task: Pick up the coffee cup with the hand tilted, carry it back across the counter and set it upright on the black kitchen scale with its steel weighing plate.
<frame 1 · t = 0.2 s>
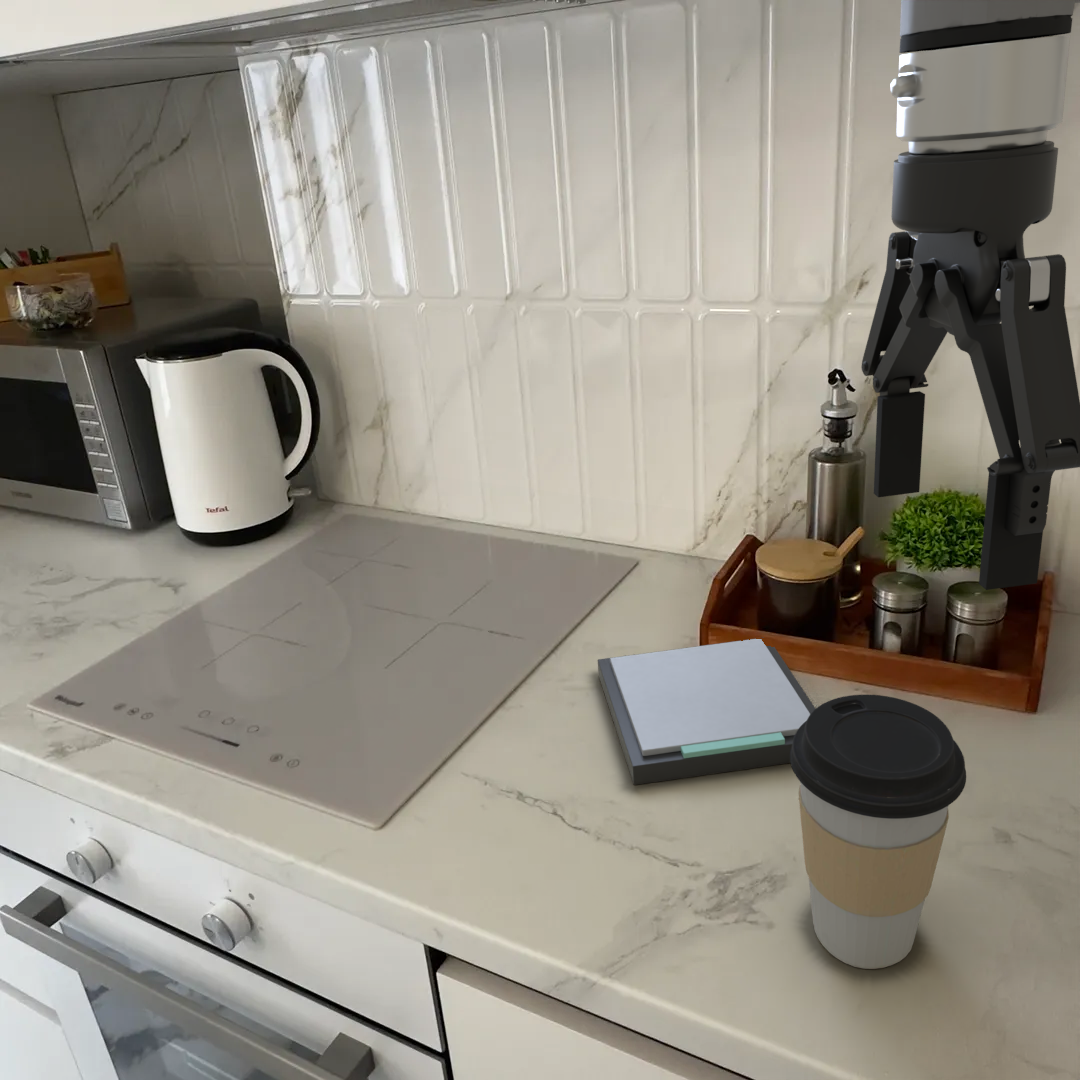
hand: (945, 534, 57), 24 cm above the worktop, tool pointing down, fingers open, 13 cm apart
coffee cup: (862, 935, 61), on the worktop
kitchen scale: (707, 713, 83), on the worktop
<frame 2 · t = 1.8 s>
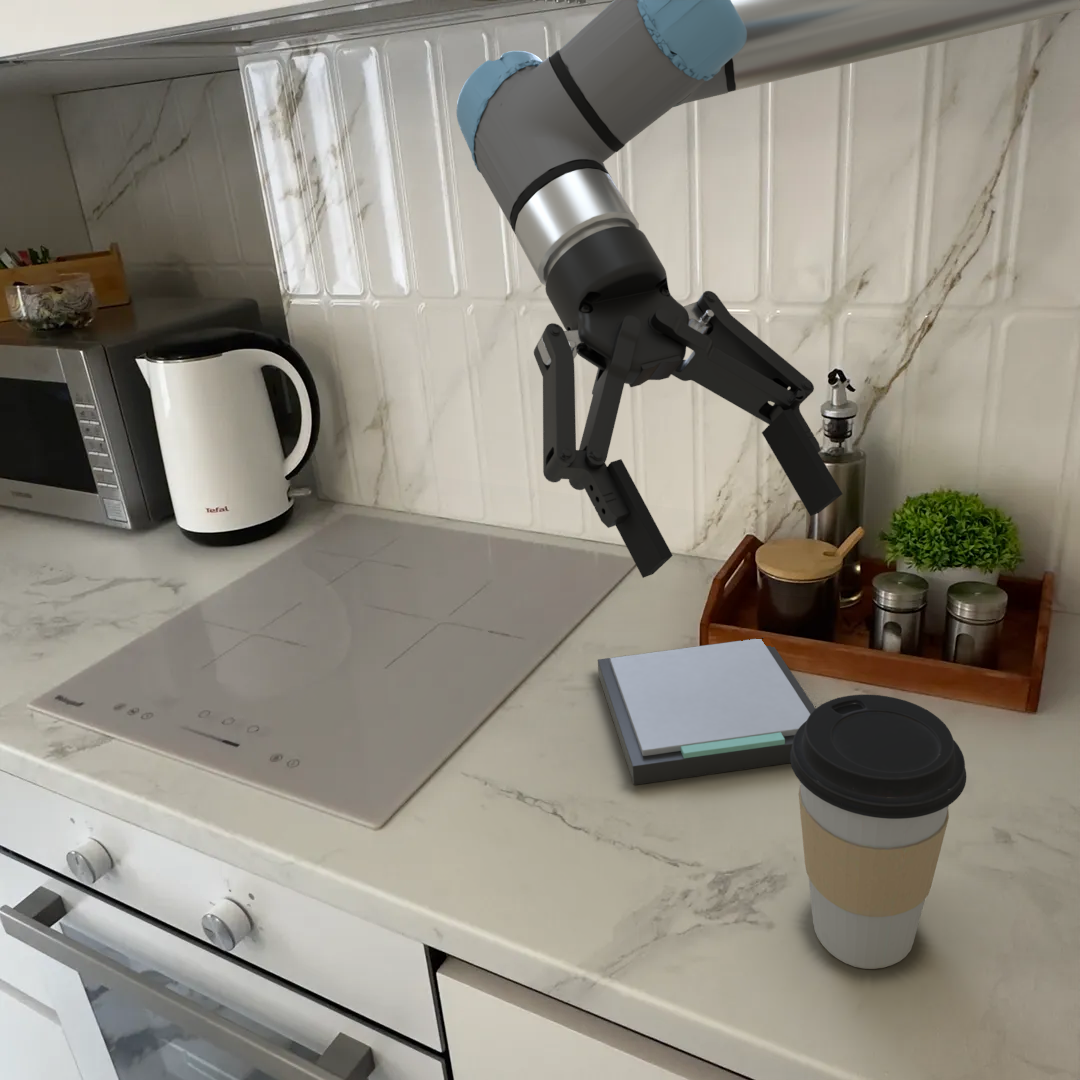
hand: (746, 535, 59), 24 cm above the worktop, tool tilted 45°, fingers open, 13 cm apart
nothing on the worktop moved.
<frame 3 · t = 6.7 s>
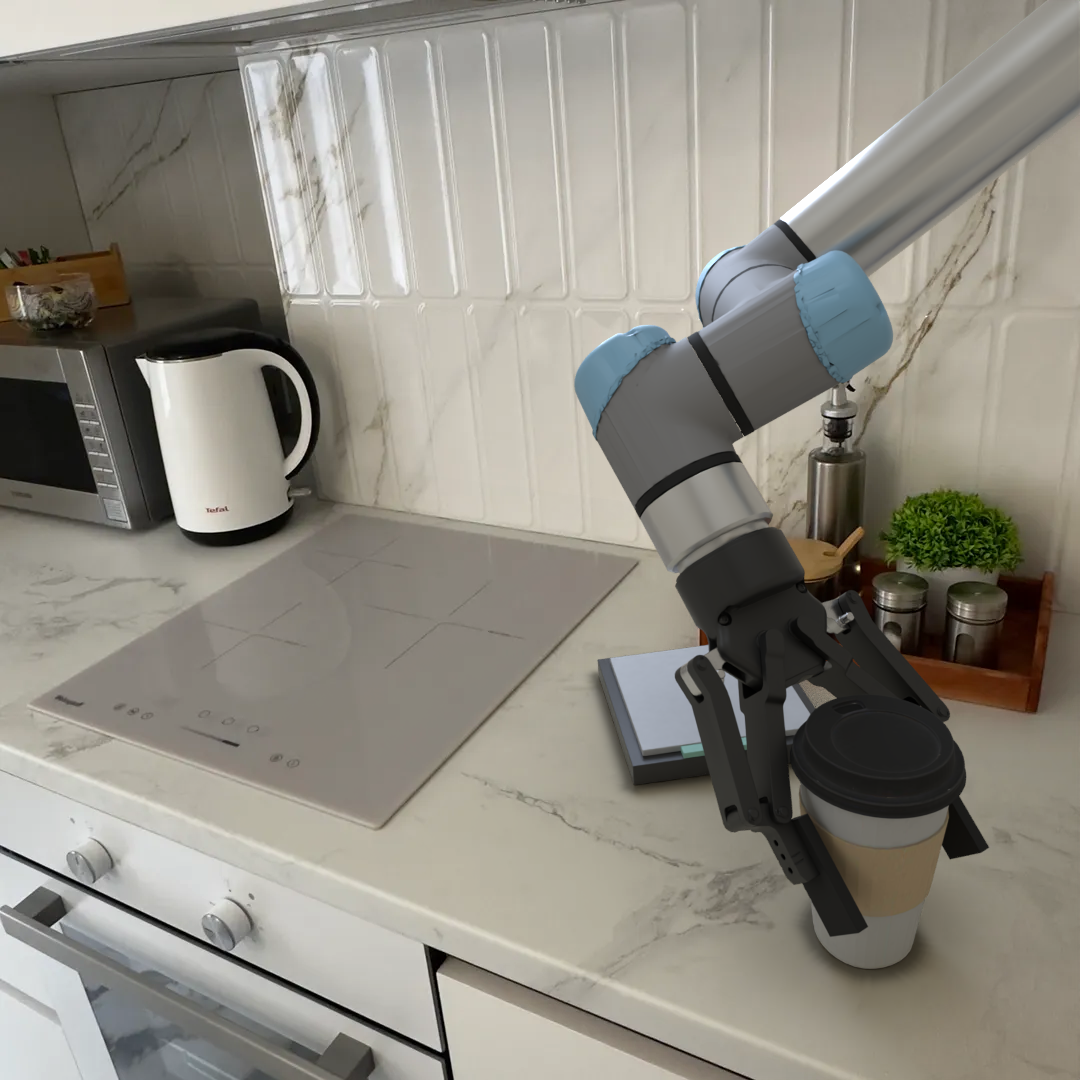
hand: (911, 891, 56), 6 cm above the worktop, tool tilted 45°, fingers closed on coffee cup, 9 cm apart
coffee cup: (862, 935, 61), on the worktop, touching gripper
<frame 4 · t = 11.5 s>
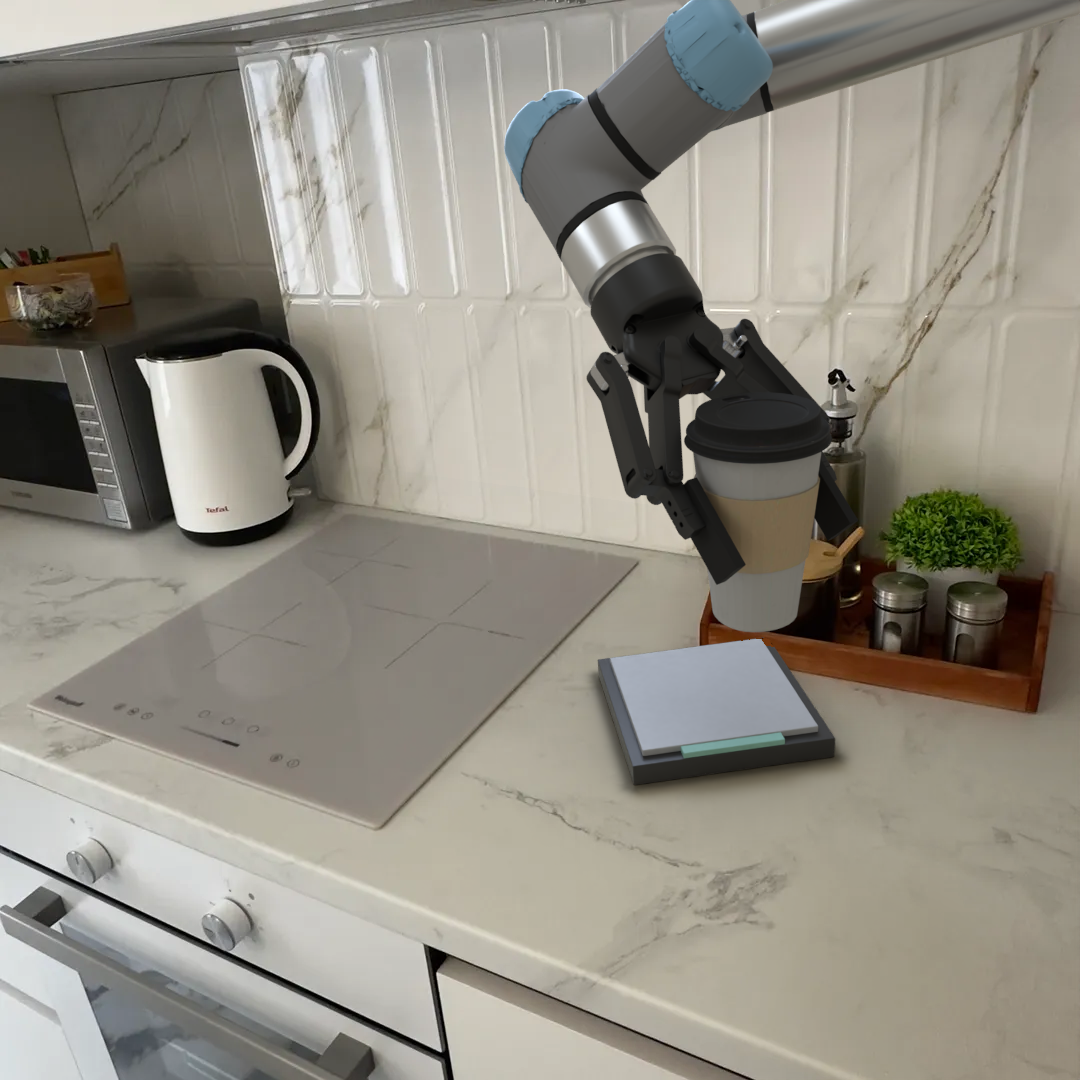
hand: (788, 552, 64), 20 cm above the worktop, tool tilted 45°, fingers closed on coffee cup, 9 cm apart
coffee cup: (754, 615, 69), point 14 cm above the worktop, touching gripper
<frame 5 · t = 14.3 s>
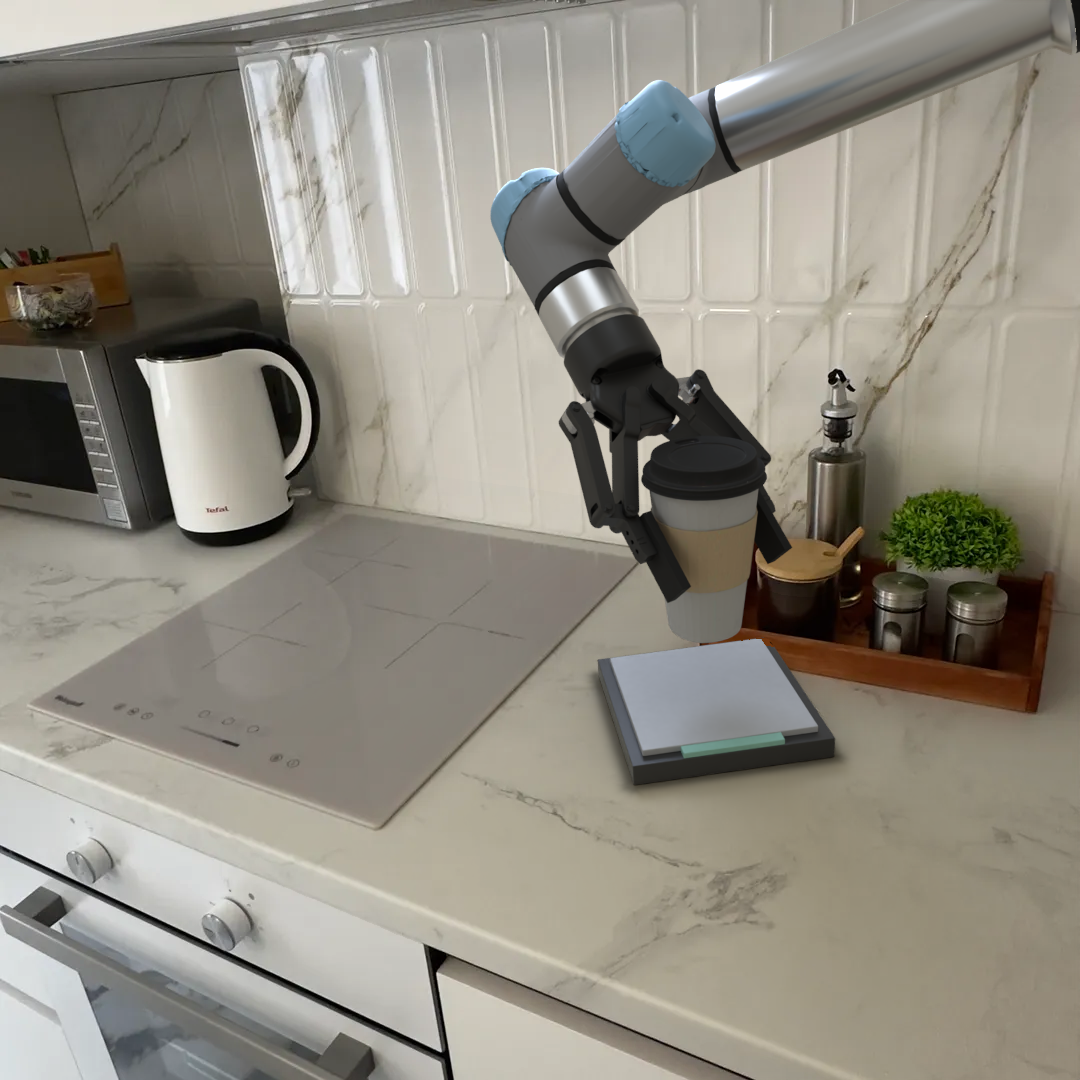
hand: (731, 574, 75), 14 cm above the worktop, tool tilted 45°, fingers closed on coffee cup, 9 cm apart
coffee cup: (704, 627, 80), point 8 cm above the worktop, touching gripper
when the fingers open (8 cm above the worktop, at t = 16.5 s): coffee cup stays where it is, resting on kitchen scale.
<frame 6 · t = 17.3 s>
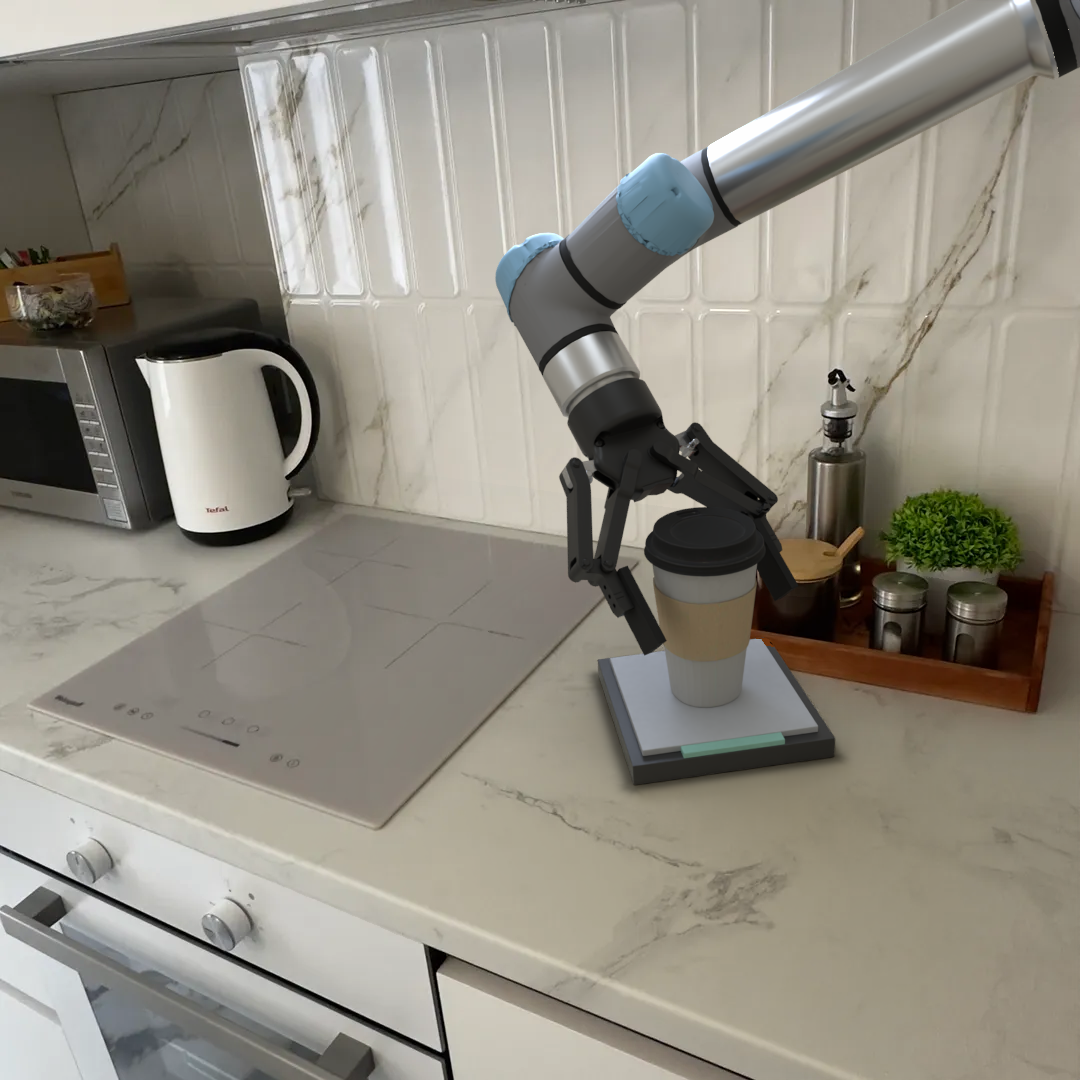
hand: (723, 620, 77), 10 cm above the worktop, tool tilted 45°, fingers open, 13 cm apart
coffee cup: (706, 690, 82), point 2 cm above the worktop, touching kitchen scale
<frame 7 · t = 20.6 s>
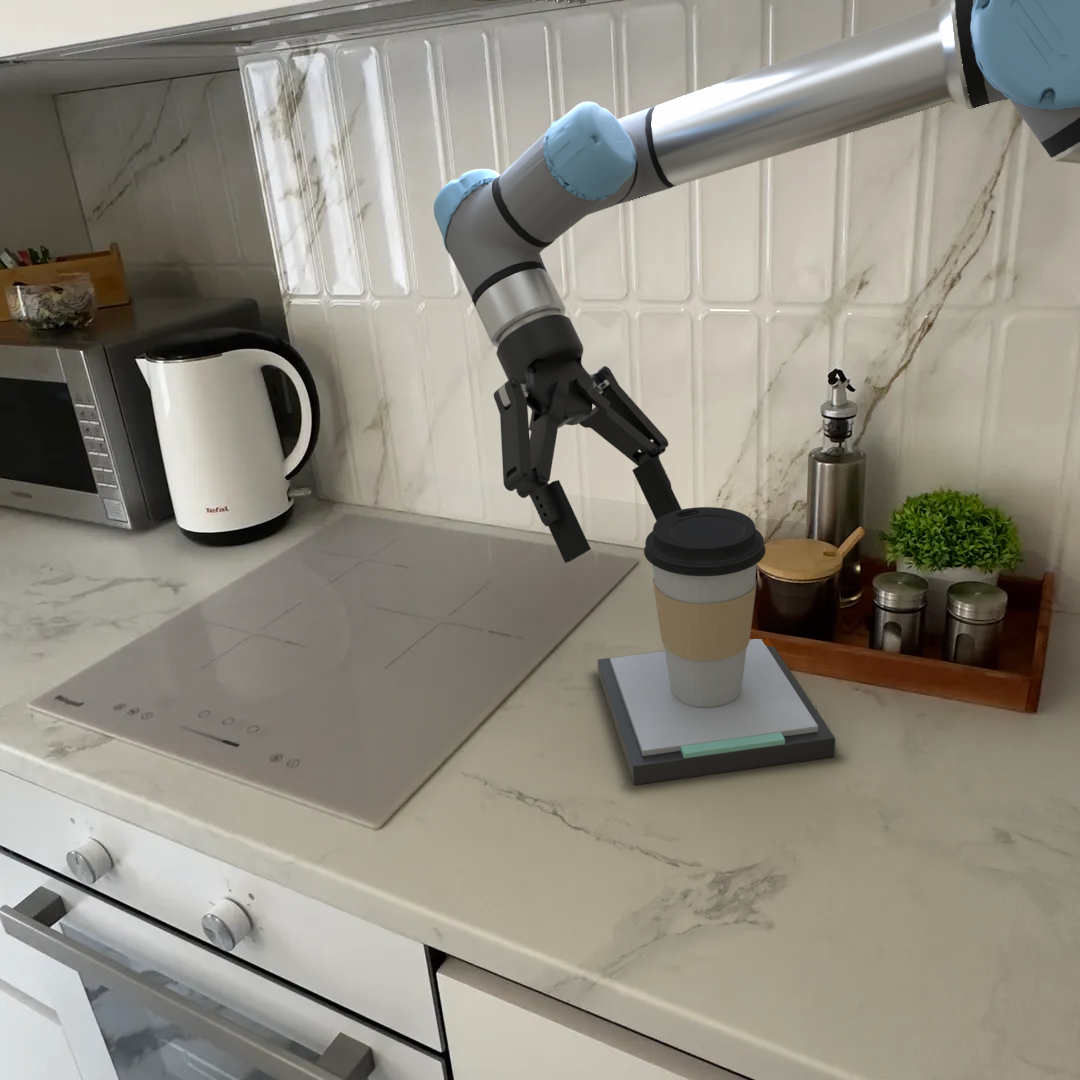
hand: (628, 540, 87), 12 cm above the worktop, tool tilted 35°, fingers open, 13 cm apart
nothing on the worktop moved.
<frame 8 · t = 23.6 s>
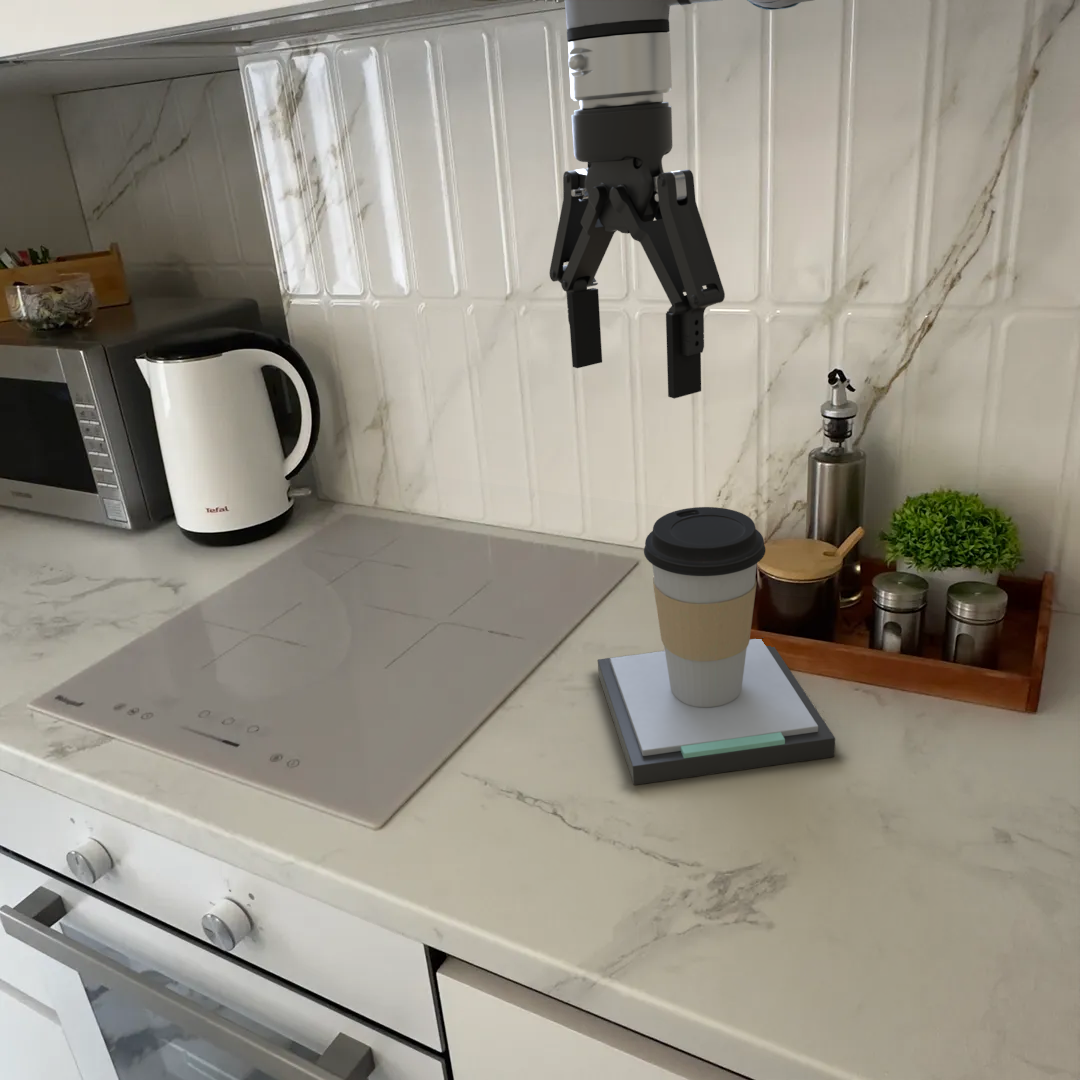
hand: (632, 378, 82), 27 cm above the worktop, tool pointing down, fingers open, 13 cm apart
nothing on the worktop moved.
at the end: coffee cup inside the target area on the kitchen scale (0.0 cm from its centre), point 2.2 cm above the kitchen scale's base; coffee cup tilted 0°; the gripper is holding nothing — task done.
